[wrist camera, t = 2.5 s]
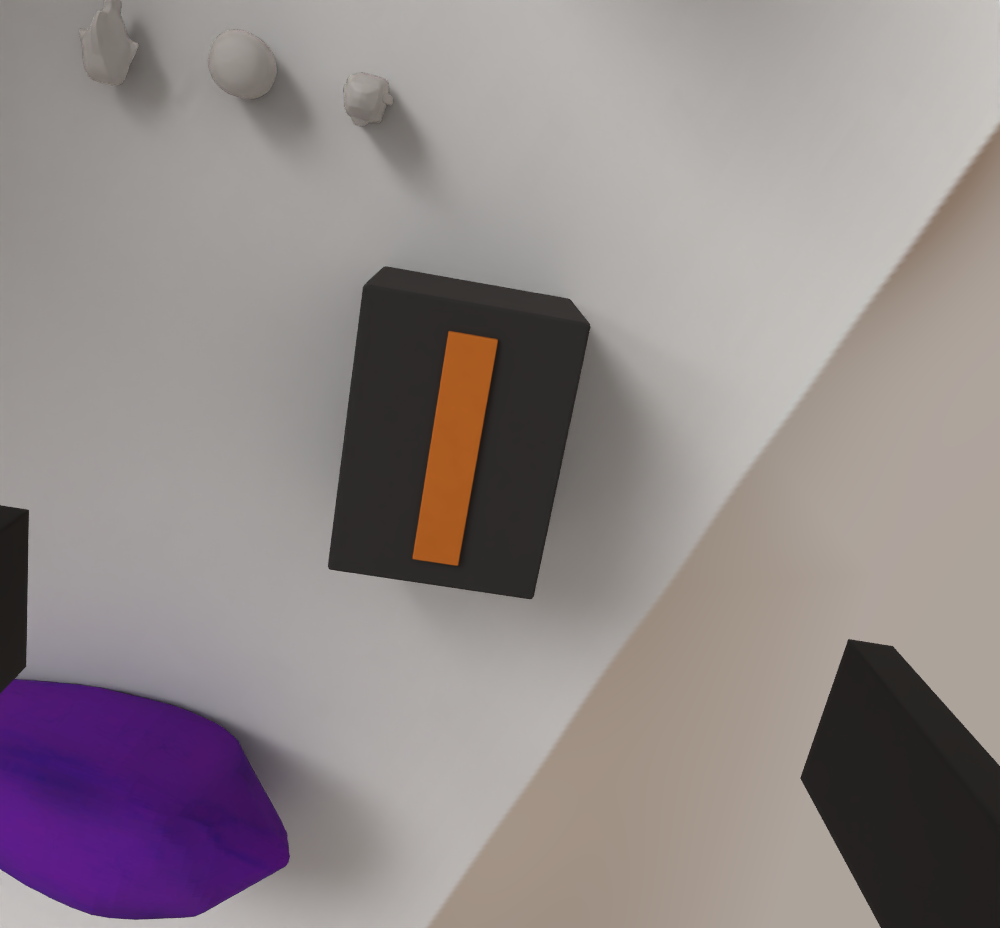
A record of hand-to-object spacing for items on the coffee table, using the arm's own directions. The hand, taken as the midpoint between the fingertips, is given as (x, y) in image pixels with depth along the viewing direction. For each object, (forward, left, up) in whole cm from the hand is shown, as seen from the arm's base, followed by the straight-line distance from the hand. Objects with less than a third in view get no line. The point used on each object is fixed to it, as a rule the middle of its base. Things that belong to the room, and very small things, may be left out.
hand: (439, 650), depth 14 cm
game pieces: (-9, -7, -13) cm, 17 cm away
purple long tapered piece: (+13, -10, -13) cm, 21 cm away
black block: (-1, 0, -13) cm, 13 cm away
